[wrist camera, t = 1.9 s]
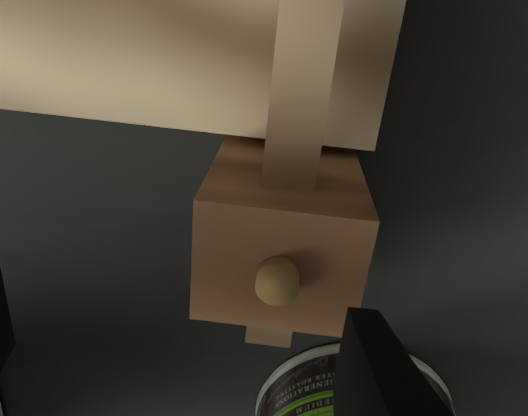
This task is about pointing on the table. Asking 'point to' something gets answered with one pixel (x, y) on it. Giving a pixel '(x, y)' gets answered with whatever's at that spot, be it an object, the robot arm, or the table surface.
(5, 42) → the board
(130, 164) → the table surface
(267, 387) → the coffee can
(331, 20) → the gauge
